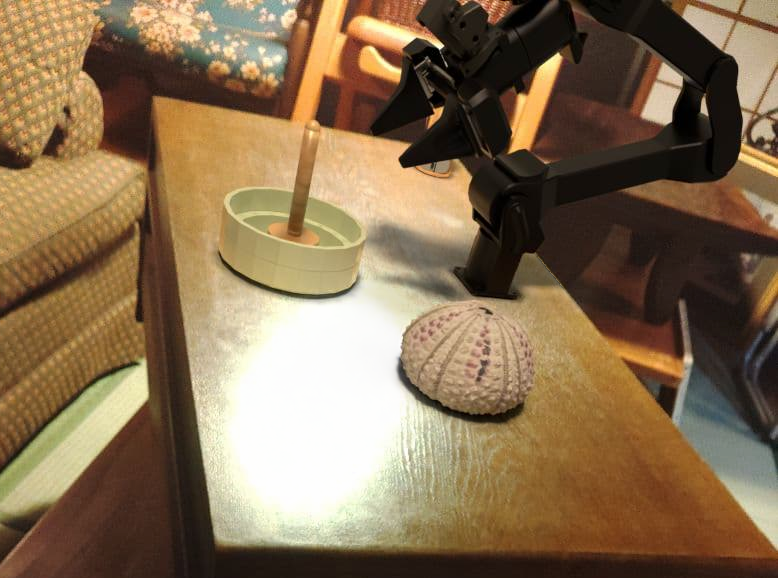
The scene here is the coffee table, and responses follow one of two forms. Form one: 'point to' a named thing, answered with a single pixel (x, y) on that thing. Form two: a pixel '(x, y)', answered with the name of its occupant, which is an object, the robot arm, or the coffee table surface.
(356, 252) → the bowl
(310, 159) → the wooden stamp
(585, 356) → the coffee table surface
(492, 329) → the sea urchin shell
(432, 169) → the beer glass
